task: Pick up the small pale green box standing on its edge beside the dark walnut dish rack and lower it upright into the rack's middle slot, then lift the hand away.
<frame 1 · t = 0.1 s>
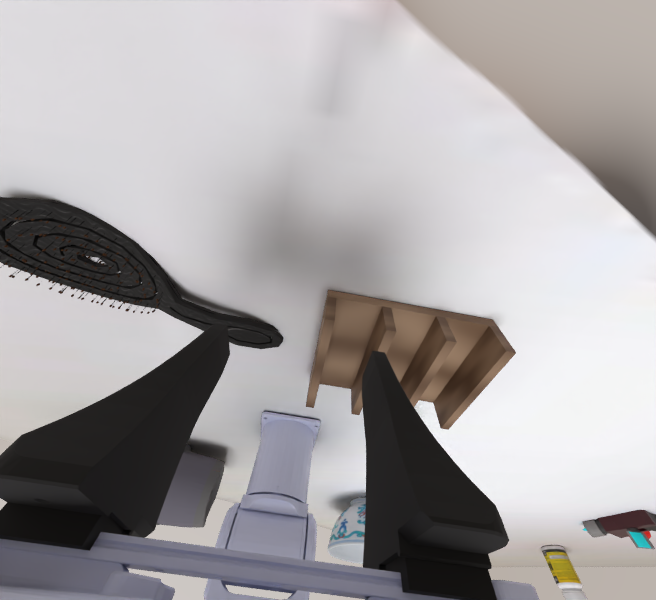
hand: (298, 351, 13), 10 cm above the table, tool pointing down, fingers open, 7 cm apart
dish rack: (390, 350, 26), on the table
toy gun: (619, 517, 49), on the table
chinaware: (366, 502, 53), on the table
hairbrush: (164, 282, 24), on the table
supplement bottle: (551, 546, 61), on the table
bluetooth speaker: (160, 440, 43), on the table
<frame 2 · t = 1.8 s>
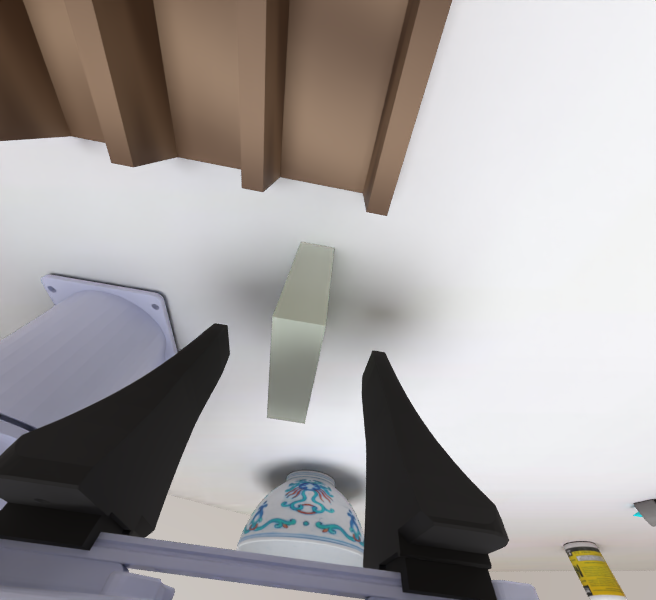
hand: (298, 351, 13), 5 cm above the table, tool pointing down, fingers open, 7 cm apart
pale green box: (310, 292, 17), on the table
chinaware: (310, 478, 35), on the table
supplement bottle: (578, 543, 44), on the table
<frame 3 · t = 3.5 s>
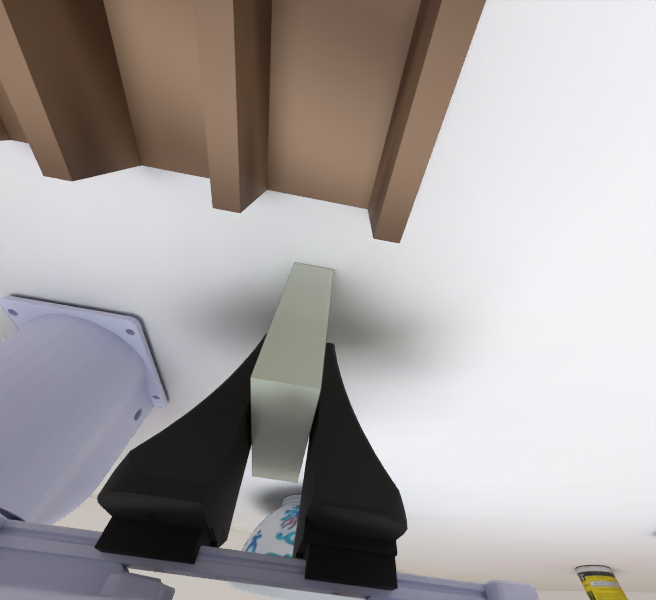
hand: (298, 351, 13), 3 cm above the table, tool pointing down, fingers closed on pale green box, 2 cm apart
pale green box: (306, 318, 15), on the table, touching gripper
chinaware: (308, 501, 33), on the table
supplement bottle: (591, 566, 42), on the table
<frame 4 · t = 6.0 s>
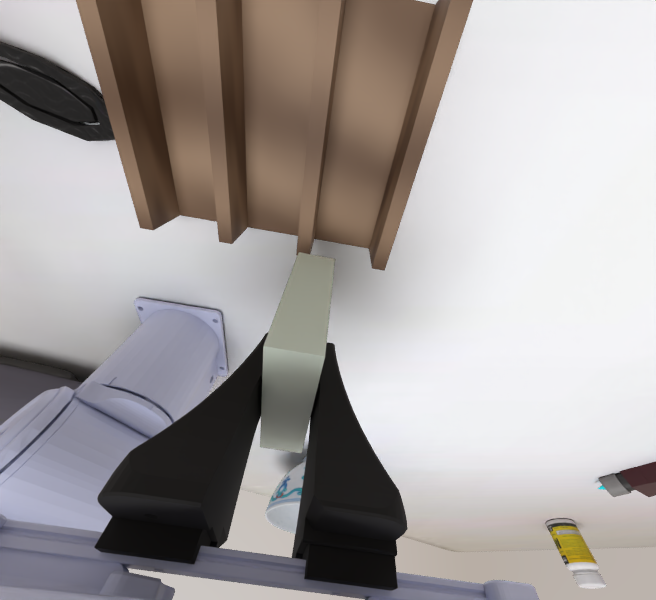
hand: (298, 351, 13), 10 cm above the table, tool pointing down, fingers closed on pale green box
dish rack: (283, 132, 16), on the table
pale green box: (308, 306, 16), point 6 cm above the table, touching gripper
toy gun: (646, 471, 37), on the table
chinaware: (323, 460, 42), on the table
supplement bottle: (558, 520, 50), on the table
bluetooth speaker: (35, 367, 32), on the table
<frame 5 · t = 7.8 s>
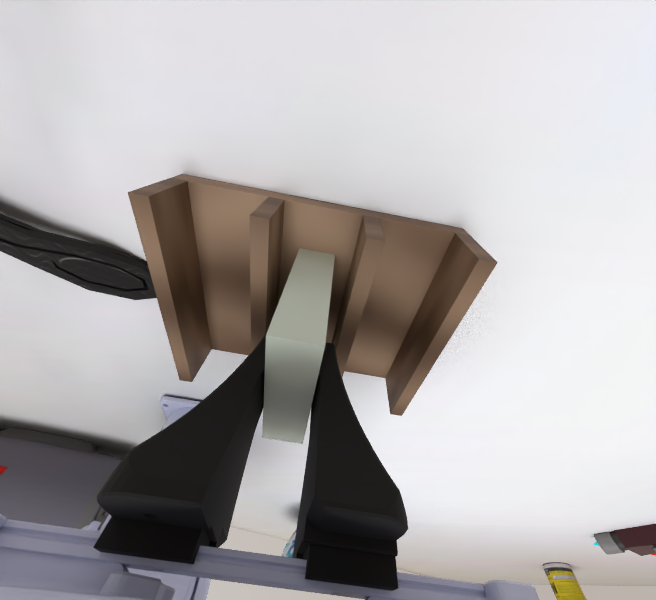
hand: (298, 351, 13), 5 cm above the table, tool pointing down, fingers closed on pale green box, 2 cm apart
dish rack: (311, 293, 17), on the table
pale green box: (309, 301, 16), point 1 cm above the table, touching dish rack, gripper
toy gun: (639, 530, 39), on the table
supplement bottle: (555, 563, 52), on the table
bluetooth speaker: (56, 437, 34), on the table
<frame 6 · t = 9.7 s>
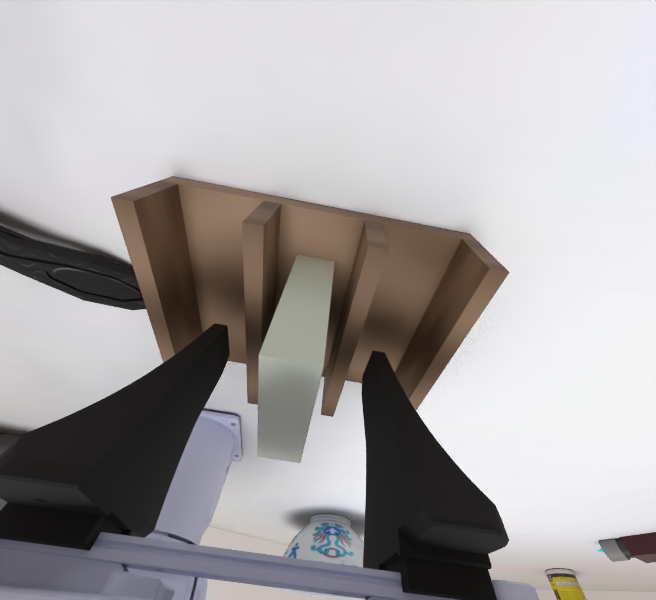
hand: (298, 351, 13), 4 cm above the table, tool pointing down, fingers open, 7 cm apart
dish rack: (310, 300, 16), on the table
pale green box: (308, 309, 16), point 1 cm above the table, touching dish rack
toy gun: (645, 536, 38), on the table
chinaware: (330, 519, 43), on the table
supplement bottle: (558, 569, 51), on the table
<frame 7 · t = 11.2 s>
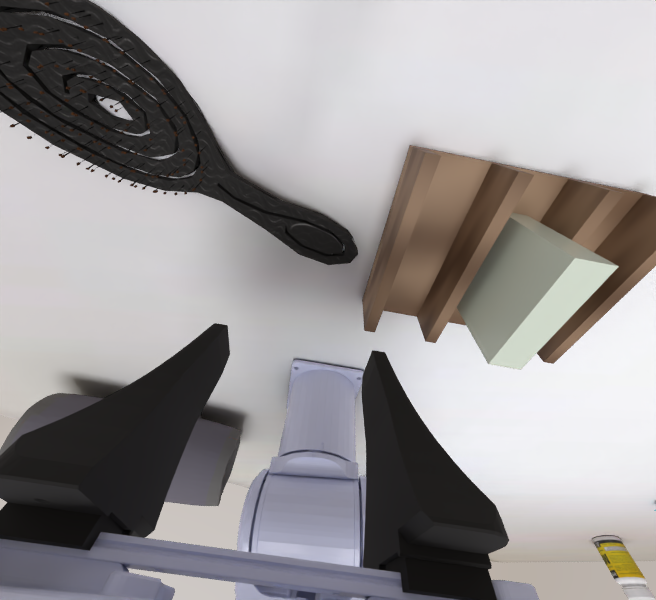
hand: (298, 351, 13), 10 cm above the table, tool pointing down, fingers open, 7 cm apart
dish rack: (478, 255, 20), on the table
pale green box: (484, 260, 19), point 1 cm above the table, touching dish rack
hairbrush: (206, 159, 18), on the table
supplement bottle: (604, 537, 54), on the table
bluetooth speaker: (165, 406, 36), on the table
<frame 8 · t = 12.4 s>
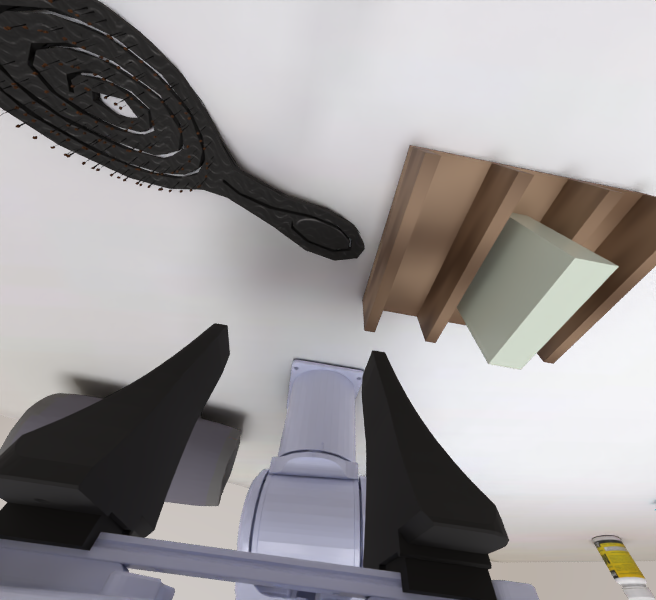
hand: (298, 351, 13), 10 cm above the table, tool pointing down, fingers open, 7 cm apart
dish rack: (478, 255, 20), on the table
pale green box: (484, 260, 19), point 1 cm above the table, touching dish rack
hairbrush: (210, 156, 18), on the table
supplement bottle: (604, 537, 54), on the table
bluetooth speaker: (165, 406, 36), on the table
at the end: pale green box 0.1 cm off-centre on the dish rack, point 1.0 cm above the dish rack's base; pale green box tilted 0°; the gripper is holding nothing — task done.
